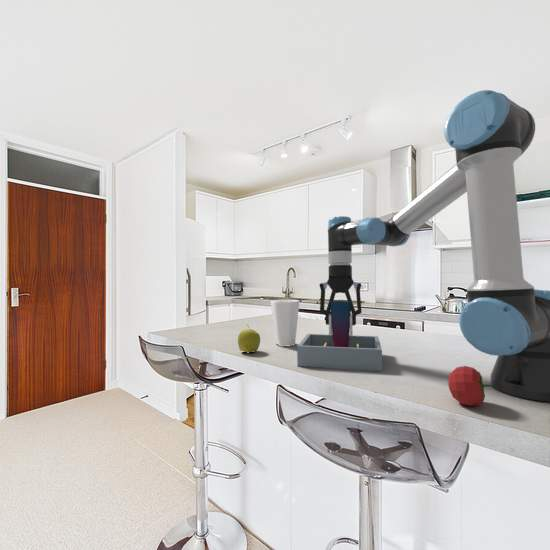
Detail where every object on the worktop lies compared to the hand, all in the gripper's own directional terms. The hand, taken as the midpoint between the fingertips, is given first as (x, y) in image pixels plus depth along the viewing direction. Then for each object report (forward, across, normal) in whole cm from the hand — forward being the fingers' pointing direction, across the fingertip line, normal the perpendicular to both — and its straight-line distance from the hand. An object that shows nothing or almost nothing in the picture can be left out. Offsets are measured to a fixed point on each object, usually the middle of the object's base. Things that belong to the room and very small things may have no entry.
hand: (340, 334), depth 108 cm
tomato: (+7, -28, +34) cm, 45 cm away
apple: (+7, +32, 0) cm, 33 cm away
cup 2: (+4, 0, 0) cm, 4 cm away
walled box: (+7, 0, +4) cm, 8 cm away
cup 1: (+7, +22, -14) cm, 27 cm away
